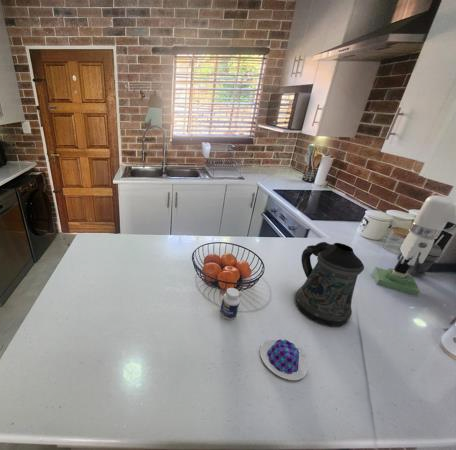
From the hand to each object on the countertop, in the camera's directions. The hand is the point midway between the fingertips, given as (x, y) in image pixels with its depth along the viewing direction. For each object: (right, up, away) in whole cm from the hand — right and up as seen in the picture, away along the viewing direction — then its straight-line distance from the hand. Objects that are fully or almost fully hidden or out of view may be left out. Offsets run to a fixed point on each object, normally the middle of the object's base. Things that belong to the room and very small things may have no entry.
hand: (399, 271), depth 96 cm
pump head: (0, -2, +1) cm, 2 cm away
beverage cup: (+17, -3, +11) cm, 20 cm away
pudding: (-60, -20, -27) cm, 69 cm away
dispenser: (0, -7, +3) cm, 7 cm away
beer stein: (-39, -11, -8) cm, 41 cm away
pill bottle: (-71, -12, -13) cm, 73 cm away
